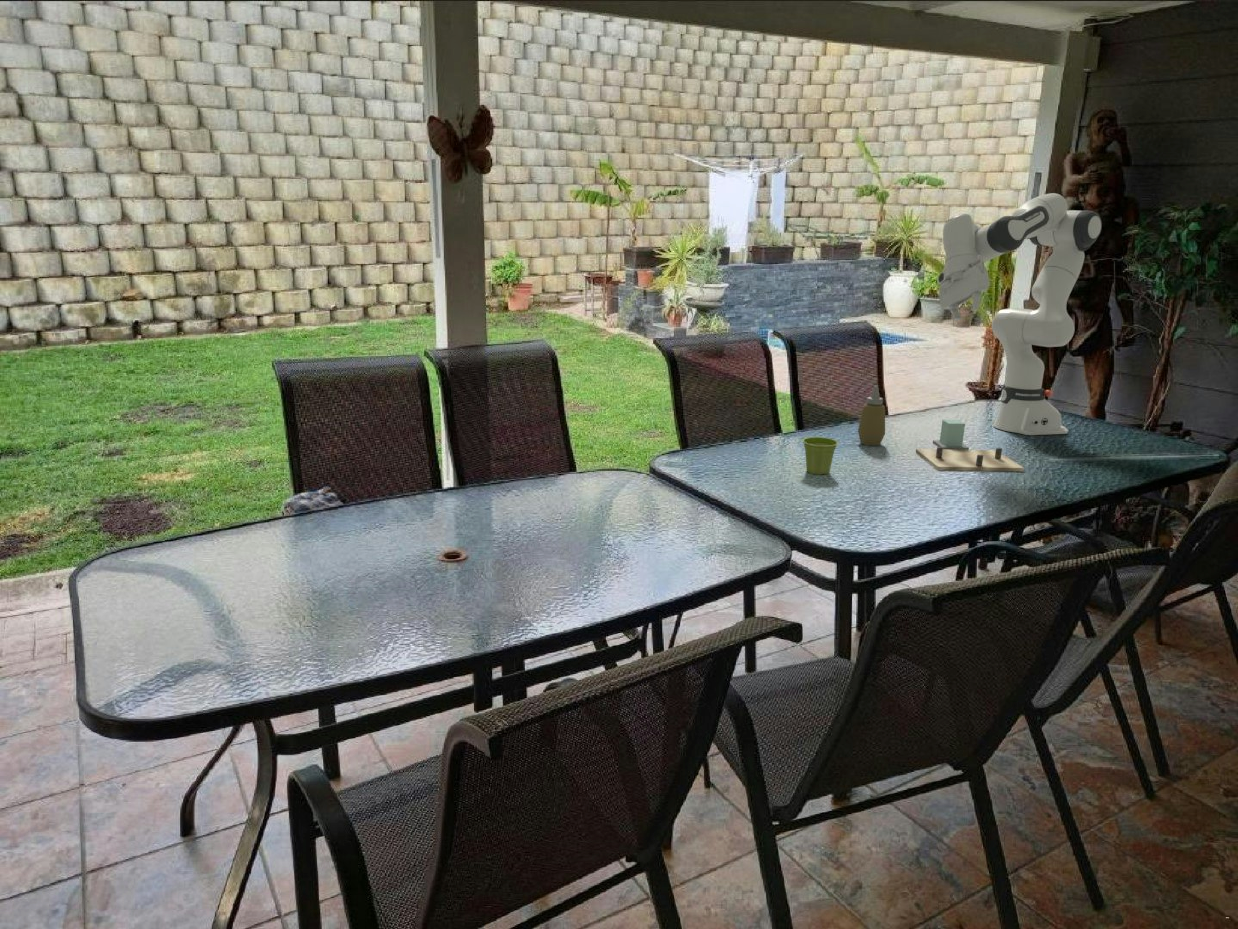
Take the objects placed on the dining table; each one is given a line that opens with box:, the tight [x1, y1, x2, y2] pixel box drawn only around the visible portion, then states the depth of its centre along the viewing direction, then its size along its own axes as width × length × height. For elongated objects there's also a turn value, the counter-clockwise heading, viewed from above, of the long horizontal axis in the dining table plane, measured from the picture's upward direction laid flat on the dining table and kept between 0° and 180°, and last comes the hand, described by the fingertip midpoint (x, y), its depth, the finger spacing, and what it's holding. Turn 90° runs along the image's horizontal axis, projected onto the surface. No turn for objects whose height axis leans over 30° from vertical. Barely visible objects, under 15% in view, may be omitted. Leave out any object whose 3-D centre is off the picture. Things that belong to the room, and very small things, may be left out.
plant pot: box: [802, 436, 839, 476], centre depth 235 cm, size 9×9×9 cm
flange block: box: [932, 419, 970, 450], centre depth 262 cm, size 8×8×8 cm
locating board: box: [915, 446, 1025, 472], centre depth 247 cm, size 24×18×4 cm
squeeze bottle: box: [857, 385, 886, 447], centre depth 262 cm, size 8×8×18 cm
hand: (966, 315), depth 251 cm, fingers open, 8 cm apart
